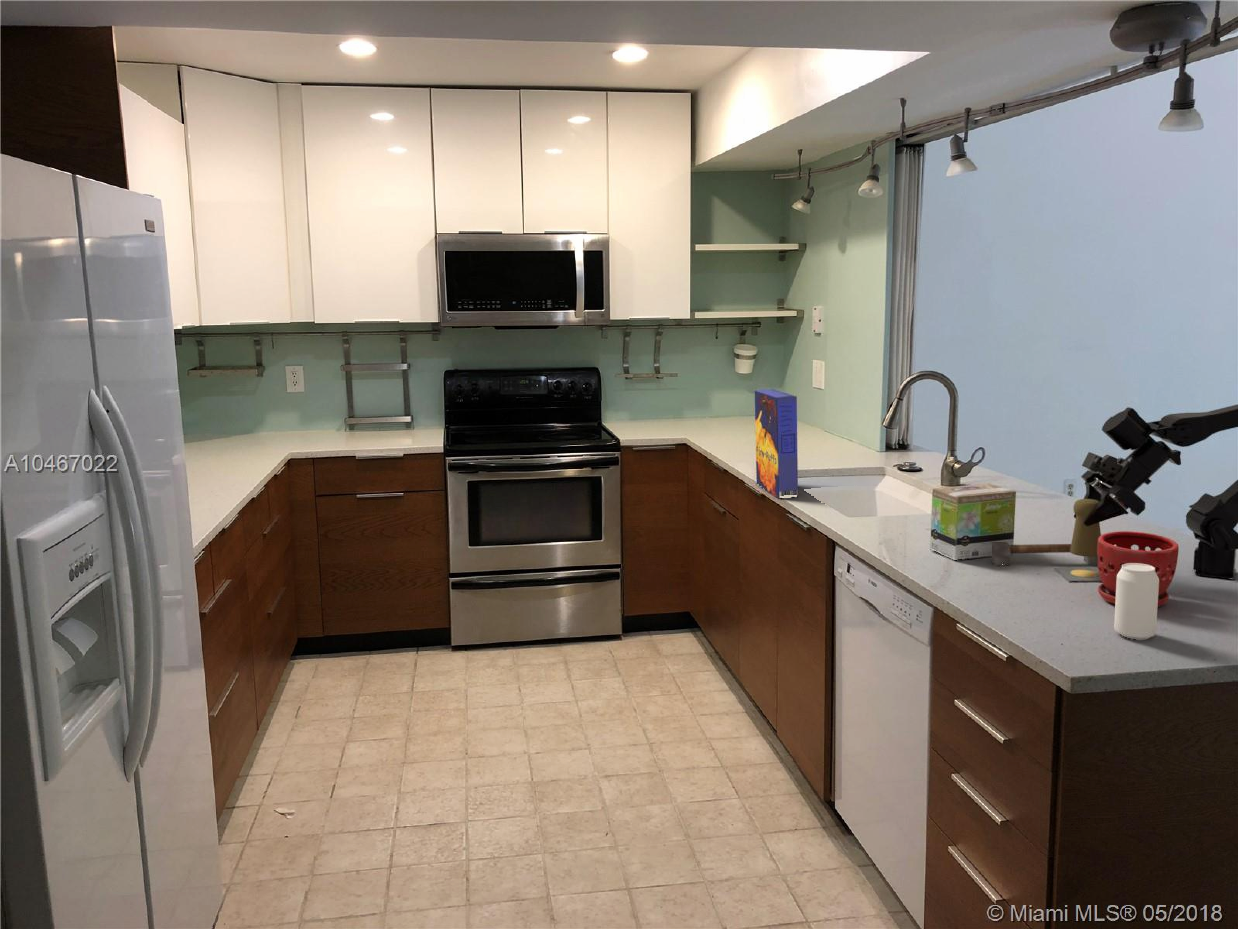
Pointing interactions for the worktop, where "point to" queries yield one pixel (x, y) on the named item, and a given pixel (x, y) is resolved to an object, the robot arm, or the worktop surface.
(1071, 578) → the pad
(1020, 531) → the worktop surface
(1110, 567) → the plant pot
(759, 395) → the cereal box
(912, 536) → the worktop surface
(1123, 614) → the beverage can
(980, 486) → the tea box
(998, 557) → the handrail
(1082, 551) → the cork
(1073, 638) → the worktop surface
